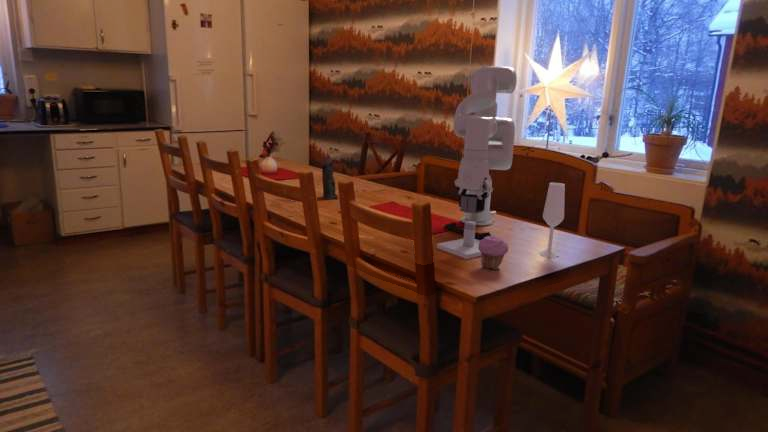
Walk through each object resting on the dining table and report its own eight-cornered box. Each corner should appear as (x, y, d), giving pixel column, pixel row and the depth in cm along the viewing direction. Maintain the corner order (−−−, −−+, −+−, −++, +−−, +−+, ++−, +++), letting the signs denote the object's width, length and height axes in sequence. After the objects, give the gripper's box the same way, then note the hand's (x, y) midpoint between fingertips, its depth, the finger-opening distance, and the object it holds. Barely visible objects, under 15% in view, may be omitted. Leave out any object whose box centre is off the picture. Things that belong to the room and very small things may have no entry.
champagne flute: (534, 253, 180) (542, 183, 174) (546, 250, 184) (554, 181, 178) (551, 258, 175) (559, 186, 169) (563, 255, 179) (572, 184, 173)
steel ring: (470, 207, 182) (471, 193, 181) (486, 211, 177) (487, 196, 176) (455, 209, 178) (456, 194, 177) (471, 214, 173) (472, 198, 172)
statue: (339, 198, 253) (340, 156, 248) (328, 200, 248) (328, 157, 243) (330, 196, 258) (330, 154, 253) (318, 198, 253) (318, 155, 248)
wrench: (454, 231, 211) (503, 247, 185) (443, 233, 209) (491, 249, 183) (454, 218, 210) (503, 232, 184) (443, 220, 208) (490, 234, 182)
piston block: (469, 241, 191) (471, 215, 189) (499, 251, 181) (502, 224, 178) (436, 247, 182) (438, 220, 180) (466, 259, 171) (468, 230, 169)
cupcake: (472, 268, 163) (474, 236, 161) (483, 261, 170) (486, 230, 168) (499, 274, 158) (502, 242, 156) (510, 267, 165) (513, 235, 163)
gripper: (448, 152, 178) (444, 204, 182) (488, 158, 165) (483, 215, 169) (464, 151, 182) (460, 202, 186) (504, 157, 169) (499, 212, 173)
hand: (471, 208), depth 177 cm, fingers closed on steel ring, 7 cm apart
